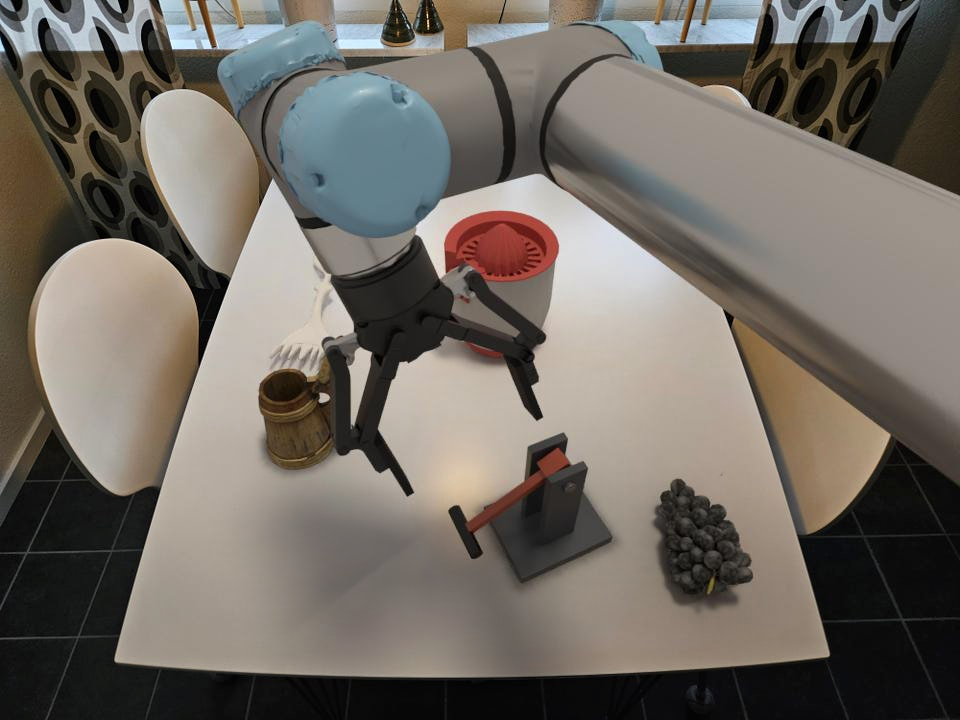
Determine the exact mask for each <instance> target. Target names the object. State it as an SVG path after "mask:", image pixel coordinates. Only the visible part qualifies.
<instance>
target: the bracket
mask: <svg viewBox="0 0 960 720" xmlns="http://www.w3.org/2000/svg"><path fill="white" fill-rule="evenodd" d="M568 443H569V437H568V436H567V434H566V433H565V432H564V431H563V432H560V433H558V434H556V435H552V436H551V437H548V438H545V439H543V440H540V441H537V442H535V443H533V444H530V445H528V446H527V449H526V458H525V467H524V479H523V482H524V481H525V480H527V479H528V478H529V477H531V476H532V475H534V474H535V473H536V472H538V471H539V470H541V469H540V468H539V466H538V464H537V462H538V461H540V460H541V459H542V458H544V457H545V456H547V455H548V454H549V453H551V452H552V451H554V450H555V449H556V448H559V449H560V450H561V451H562V452H563V453H564V454H565V455H566V454H567V448H568ZM588 471H589V467H588V465H587V464H586V462H585V461H584V460H582V461H579V462H576V463H575V464H572V466H570V467H567V468H565V469H562V470H560V471H558V472H555V473H553V474H550V475H548V476H546V482H545V483H544V484H542V485H541V486H539V487H538V488H537V489H535V490H534V491H532V492H531V493H530V494H528V495H527V496H525V497H524V498H523V499H521V500H520V501H518V502H517V503H516V504H514V505H513V506H511V507H510V508H509V509H507V510H506V511H504V512H503V513H502V514H500V515H499V516H497V517H496V518H495V519H493V520H492V521H490V522H489V523H488V524H489V525H490V526H491V529H492V531H493V533H494V534H495V537H496V538H497V540H498V542H499V544H500V547H502V549H503V552H504V553H505V556H506V558H507V559H508V562H510V564H511V567H512V568H513V570H514V573H515V574H516V576H517V578H518V579H519V581H520V583H521V584H524V583H526V582H528V581H530V580H532V579H534V578H536V577H539V576H540V575H543V574H545V573H547V572H549V571H551V570H554V569H556V568H558V567H560V566H562V565H564V564H567V563H569V562H571V561H572V560H575V559H577V558H580V557H582V556H583V555H586V554H588V553H590V552H592V551H594V550H596V549H598V548H601V547H603V546H605V545H607V544H610V543H612V540H613V537H614V536H613V535H612V533H611V531H610V530H609V529H608V526H606V524H605V522H604V521H603V519H602V518H601V516H600V515H599V513H598V512H597V511H596V509H595V508H594V506H593V504H592V503H591V501H590V499H589V498H588V497H587V495H586V494H585V492H584V488H585V483H586V479H587V476H588V475H587V474H588ZM495 502H496V501H494V502H492V503H490V504H486V505H485V506H483V510H485V509H486V508H488V507H489V506H490V505H492V504H493V503H495Z"/></svg>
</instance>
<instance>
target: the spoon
mask: <svg viewBox="0 0 960 720" xmlns="http://www.w3.org/2000/svg"><path fill="white" fill-rule="evenodd" d="M313 263H314V265H315V266H316V267H317V269H318V270H319V271H320V272H321V273H322V274H323V275H324V277H323V280H322V281H321V282H320V283H317V284H315V285H314V287H313V290H314V291H315V292H316V296H315V298H314V302H313V305H312V309H311V312H310V315H309V317H308V318H307V319H308V320H306V322H305V323H304V324H303V325H302V326H301V327H300V328H297V329H296V330H294V331H292V332H290V333H289V334H287V335H286V337H284V338H283V339H282V340H281V341H280V342H279V343H278V344H277V345H276V346H274V347H273V348H272V349H271V351H270V352H269V355H268V356H269V357H268V358H269V359H270V360H272V359H274V358H275V357H276V356H277V355H278V354H279V353H280V354H279V360H282V359H283V358H284V357H285V356H286V355H287V354H288V355H287V360H291V359H292V358H294V356H295V355H296V354H297V353H298V360H299V361H302V360H303V359H304V358H306V357H307V356H308V354H310V355H309V362H311V361H313V360H314V358H315V357H316V355H317V358H316V361H317V362H320V360H321V359H322V358H323V357H324V355H325V353H324V350H323V348H322V345H321V343H322V340H323V339H324V338H325V337H329V336H330V337H332V336H331V334H330V333H329V332H328V331H327V330H326V328H325V325H324V324H323V319H322V310H323V305H324V304H323V303H324V300H325V298H326V296H327V295H328V293H331V292H332V291H334V287H333V285H332V284H331V280H330V279H331V274H328V273H326V272H325V271H324V270H323V268H322V266H321V264H320V262H319V261H318V259H317V257H316V255H315V254H314V253H313ZM310 352H311V353H310Z"/></svg>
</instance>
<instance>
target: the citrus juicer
mask: <svg viewBox="0 0 960 720" xmlns="http://www.w3.org/2000/svg"><path fill="white" fill-rule="evenodd" d="M443 250H444V251H443V252H444V266H445V267H444V269H445V274H443V276H441V277H439V278H440V280H441V281H442V282H443V283H445V282H447V281H448V280H450V279H451V278H453V277H454V276H456V275H457V274H459V273H458V269H459V266H460V265H461V264H463V263H468V264H470V265H471V266H472V267H473V268H474V269H476V270H477V271H478V272H479V273H480V274H481V275H482V276H483V278H484V280H485V282H486V284H487V285H488V287H489V289H490V290H491V291H493V292H494V293H495V294H496V295H498V296H499V297H500V298H502V299H503V300H504V301H505V302H507V303H508V304H509V305H511V306H512V307H513V308H515V309H516V310H517V311H518V312H520V313H521V314H522V315H524V316H525V317H526V318H527V319H529V320H530V321H531V322H533V323H534V324H535V325H536V326H537V327H538V328H539V329H541V330H542V328H543V327H544V324H545V322H546V319H547V316H548V313H549V310H550V307H551V302H552V296H553V289H554V288H553V286H554V279H555V278H554V277H555V270H556V261H557V258H558V256H559V252H560V244H559V240H558V237H557V235H556V234H555V231H554V230H553V229H552V228H551V227H550V226H548V224H546V223H545V222H544V221H542V220H541V219H538V218H536V217H535V216H533V215H529V214H526V213H522V212H518V211H513V210H487V211H482V212H477V213H474V214H471V215H469V216H467V217H465V218H463V219H461V220H459V221H458V222H457V223H455V224H454V225H453V226H452V227H451V228H450V229H449V231H448V232H447V234H446V236H445V239H444V242H443ZM452 313H455V314H456V315H458V316H460V317H462V318H465V319H468V320H471V321H473V322H476V323H479V324H482V325H484V326H487V327H490V328H493V329H495V330H498V331H501V332H504V333H507V334H509V335H512V336H515V337H516V336H517V335H518V334H519V333H520V332H519V331H518V330H517V329H515V328H514V327H513V326H511V325H510V324H509V323H507V322H506V321H505V320H503V319H502V318H501V317H499V316H498V315H497V314H495V313H494V312H493V311H491V310H490V309H489V308H487V307H486V306H485V305H484V304H482V303H481V302H480V301H479V300H478V299H477V298H476V297H475V298H470V299H467V298H465V297H464V296H463V295H460V294H458V295H455V296H454V303H453V308H452ZM464 343H465V344H466V346H468V347H469V348H470V349H471V350H472V351H474V352H476V353H477V354H480V355H483V356H487V357H490V358H504V357H503V354H502V353H499V352H496V351H493V350H490V349H487V348H484V347H481V346H478V345H475V344H473V343H470V342H467V341H464Z"/></svg>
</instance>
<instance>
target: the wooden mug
mask: <svg viewBox="0 0 960 720" xmlns="http://www.w3.org/2000/svg"><path fill="white" fill-rule="evenodd" d="M343 336H344V335H343V334H342V335H338V336H336V337H335V339H338V338H341V337H343ZM321 361H322V362H321V365H320V367H319V371H318V372H317V374H316V375H312V376H307V375H306V374H305V373H304V372H303V371H301V370H300V369H296V368H282V369H281V368H280V369H277V370H274V371H272V372H271V373H269V374H268V375H266V376H265V377H264V378H263V379H262V380H261V382H260V383H259V388H258V396H257V399H258V401H257V402H258V409H259V412H260V415H262V418H263V424H264V428H265V445H266V450H267V455H268V457H269V458H270V460H271V461H272V462H273V463H274V464H275V465H277V466H278V467H280V468H283V469H285V470H300V469H301V470H302V469H306V468H309V467H311V466H314V465H316V464H318V463H320V462H322V461H323V460H324V459H325V458H326V457H328V456H329V455H330V453H331V451H332V450H333V449H334V448H335V446H334V444H333V441H332V438H331V416H330V364H329V362H328V360H327V357H326V355H325V354H324V355H323V357H322V360H321ZM321 394H325V395H327V396H328V397H329V399H328V400H325V401H323V402H320V399H321Z"/></svg>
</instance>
